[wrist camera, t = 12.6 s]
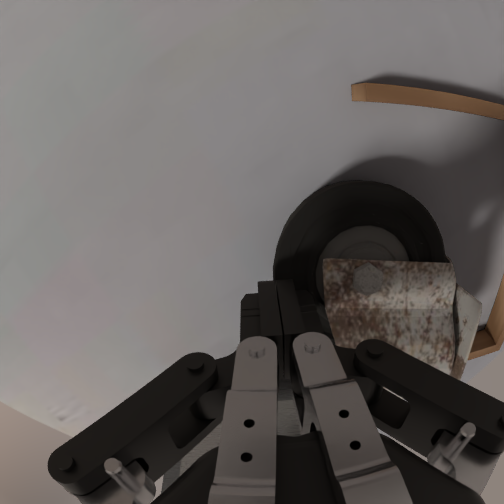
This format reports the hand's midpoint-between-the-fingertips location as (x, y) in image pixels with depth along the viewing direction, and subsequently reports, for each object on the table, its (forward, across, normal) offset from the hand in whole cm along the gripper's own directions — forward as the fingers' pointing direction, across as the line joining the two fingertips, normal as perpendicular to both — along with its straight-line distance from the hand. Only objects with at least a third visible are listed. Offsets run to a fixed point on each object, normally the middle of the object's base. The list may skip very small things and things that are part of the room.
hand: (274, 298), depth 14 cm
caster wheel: (+4, -5, +1) cm, 6 cm away
